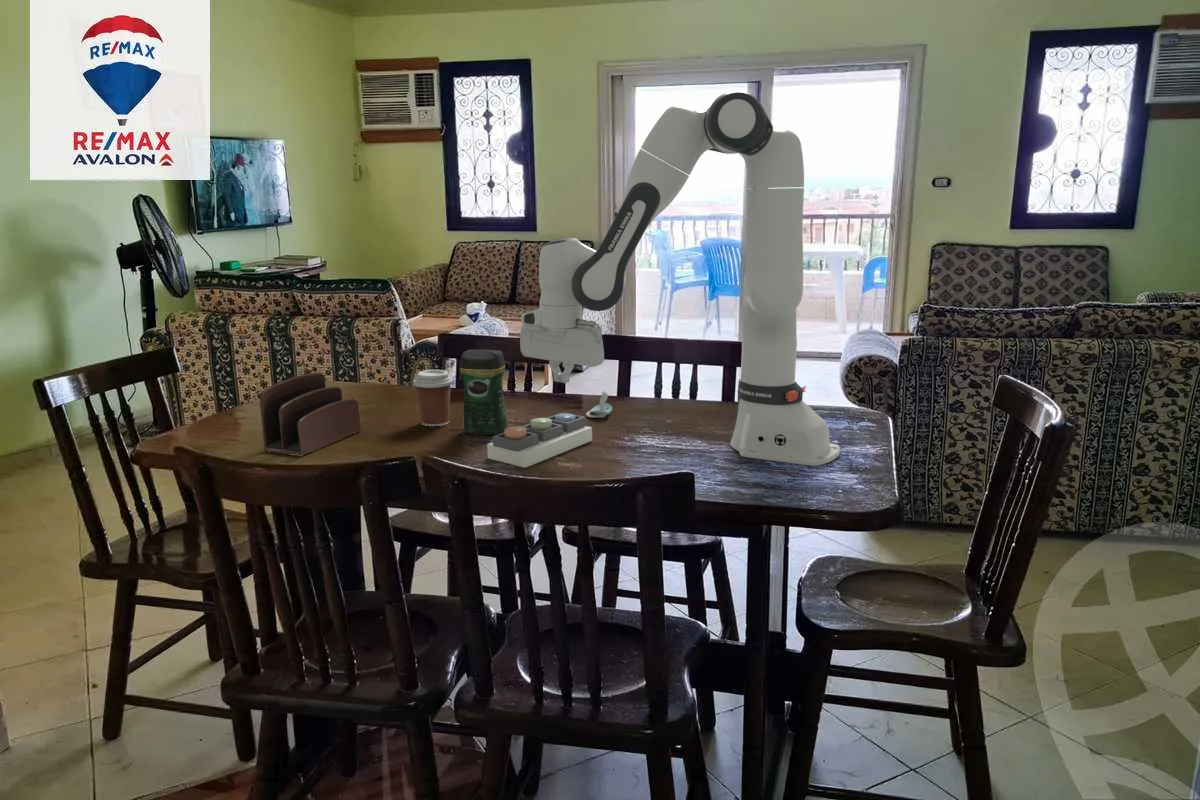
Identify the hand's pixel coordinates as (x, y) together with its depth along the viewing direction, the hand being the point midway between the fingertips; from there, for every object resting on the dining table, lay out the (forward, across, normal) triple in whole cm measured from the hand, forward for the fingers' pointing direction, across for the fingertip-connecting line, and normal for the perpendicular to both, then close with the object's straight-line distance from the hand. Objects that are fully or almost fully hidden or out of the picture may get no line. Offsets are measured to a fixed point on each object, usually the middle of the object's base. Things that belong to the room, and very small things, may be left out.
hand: (561, 381), depth 178 cm
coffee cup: (+13, +33, +6) cm, 36 cm away
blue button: (+9, 0, -1) cm, 9 cm away
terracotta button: (+8, 0, +15) cm, 17 cm away
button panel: (+13, 0, +7) cm, 15 cm away
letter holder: (+14, +43, +32) cm, 55 cm away
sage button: (+9, 0, +7) cm, 11 cm away
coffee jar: (+13, +19, +4) cm, 23 cm away
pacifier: (+14, +6, -21) cm, 26 cm away
